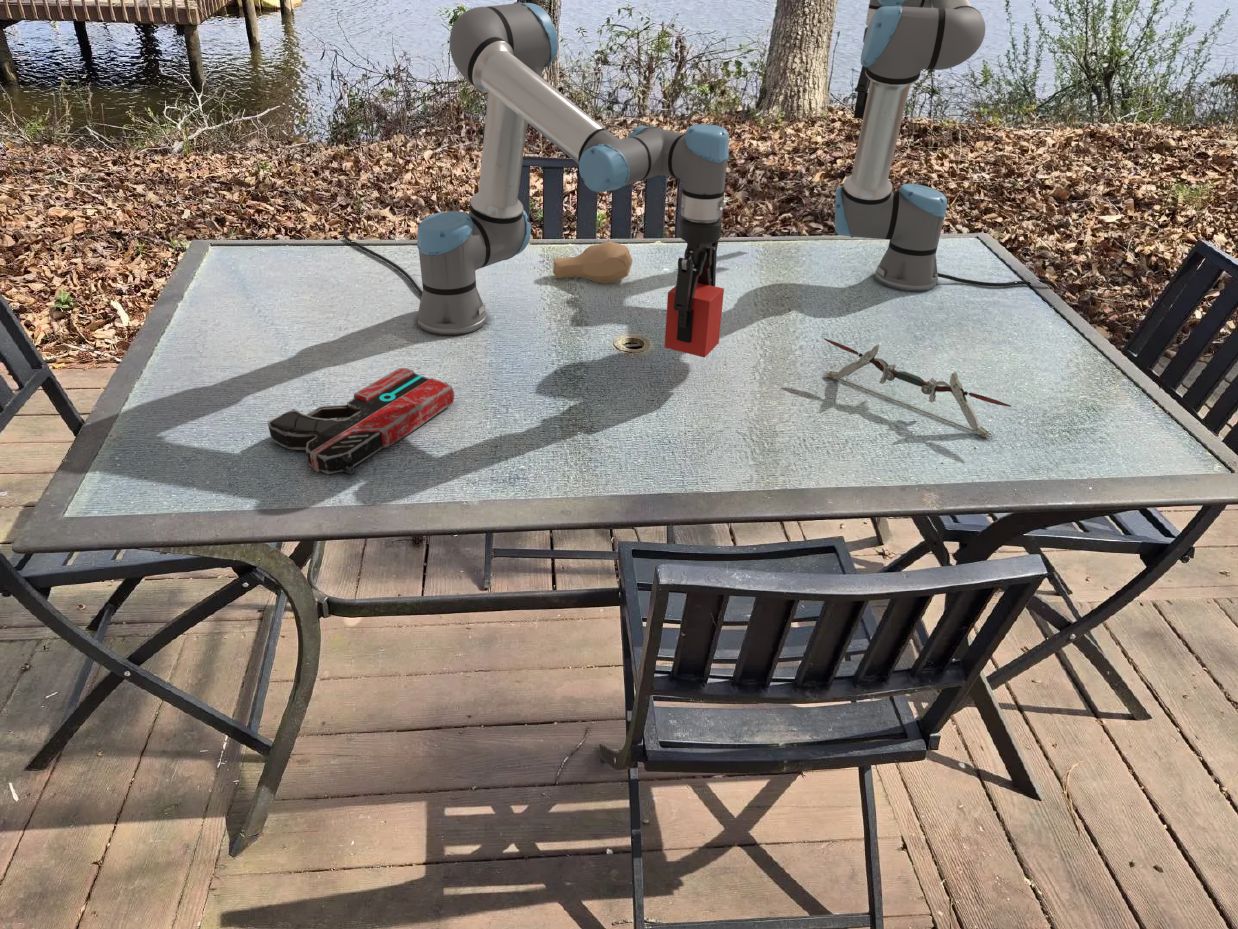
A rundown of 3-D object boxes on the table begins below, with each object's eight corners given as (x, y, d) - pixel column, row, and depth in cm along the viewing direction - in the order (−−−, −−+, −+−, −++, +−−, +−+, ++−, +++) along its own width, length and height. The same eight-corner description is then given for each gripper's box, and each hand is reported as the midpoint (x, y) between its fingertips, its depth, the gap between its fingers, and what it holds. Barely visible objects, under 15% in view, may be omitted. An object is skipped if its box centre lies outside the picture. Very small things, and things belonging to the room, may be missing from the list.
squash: (634, 287, 216) (630, 255, 210) (554, 294, 218) (548, 263, 212) (634, 264, 224) (630, 232, 218) (556, 271, 226) (551, 240, 220)
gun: (253, 426, 149) (335, 462, 141) (381, 354, 171) (459, 383, 163) (258, 448, 152) (340, 485, 144) (384, 375, 174) (460, 403, 166)
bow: (1002, 440, 160) (1018, 392, 155) (998, 443, 159) (1013, 395, 153) (820, 369, 181) (828, 325, 176) (815, 372, 180) (823, 328, 175)
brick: (704, 357, 168) (709, 301, 162) (664, 347, 171) (667, 292, 165) (718, 343, 173) (724, 288, 167) (679, 333, 177) (683, 279, 170)
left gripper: (698, 236, 149) (689, 357, 162) (740, 205, 164) (728, 318, 177) (658, 229, 152) (652, 348, 165) (703, 199, 167) (694, 310, 180)
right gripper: (883, 34, 216) (867, 123, 228) (905, 23, 235) (889, 106, 247) (853, 31, 219) (839, 120, 231) (877, 20, 238) (863, 103, 250)
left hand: (692, 332), depth 171 cm, fingers closed on brick, 7 cm apart
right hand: (865, 113), depth 239 cm, fingers open, 13 cm apart
